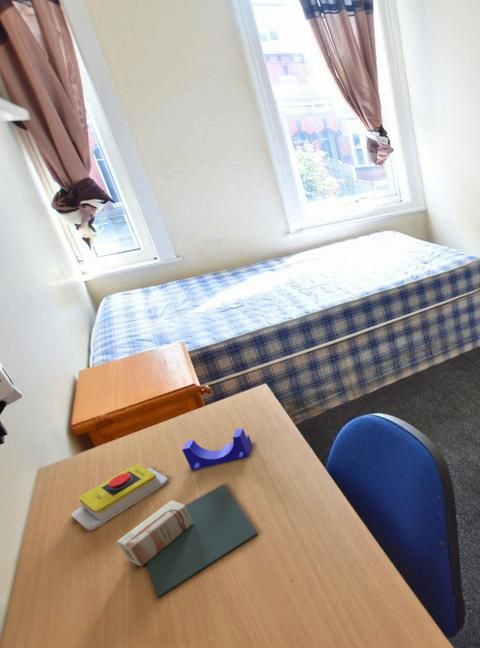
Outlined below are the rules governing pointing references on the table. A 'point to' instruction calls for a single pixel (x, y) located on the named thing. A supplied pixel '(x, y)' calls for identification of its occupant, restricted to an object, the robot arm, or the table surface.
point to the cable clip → (230, 452)
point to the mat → (201, 540)
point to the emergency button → (117, 495)
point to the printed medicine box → (155, 533)
